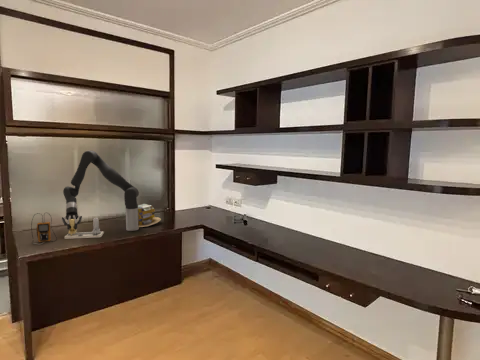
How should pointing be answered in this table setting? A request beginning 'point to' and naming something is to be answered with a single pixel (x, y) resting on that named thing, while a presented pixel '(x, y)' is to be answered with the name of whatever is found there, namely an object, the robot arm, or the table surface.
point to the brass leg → (72, 227)
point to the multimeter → (43, 231)
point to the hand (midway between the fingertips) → (72, 229)
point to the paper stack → (146, 215)
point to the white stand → (92, 234)
